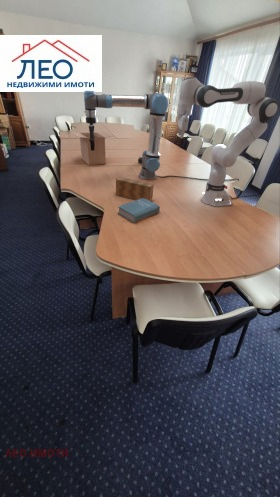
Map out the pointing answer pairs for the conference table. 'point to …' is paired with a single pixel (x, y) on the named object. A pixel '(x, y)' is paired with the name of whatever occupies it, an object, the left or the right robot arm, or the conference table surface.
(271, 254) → the conference table surface
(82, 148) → the box
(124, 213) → the book
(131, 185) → the long box
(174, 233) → the conference table surface
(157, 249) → the conference table surface
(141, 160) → the laser sight
